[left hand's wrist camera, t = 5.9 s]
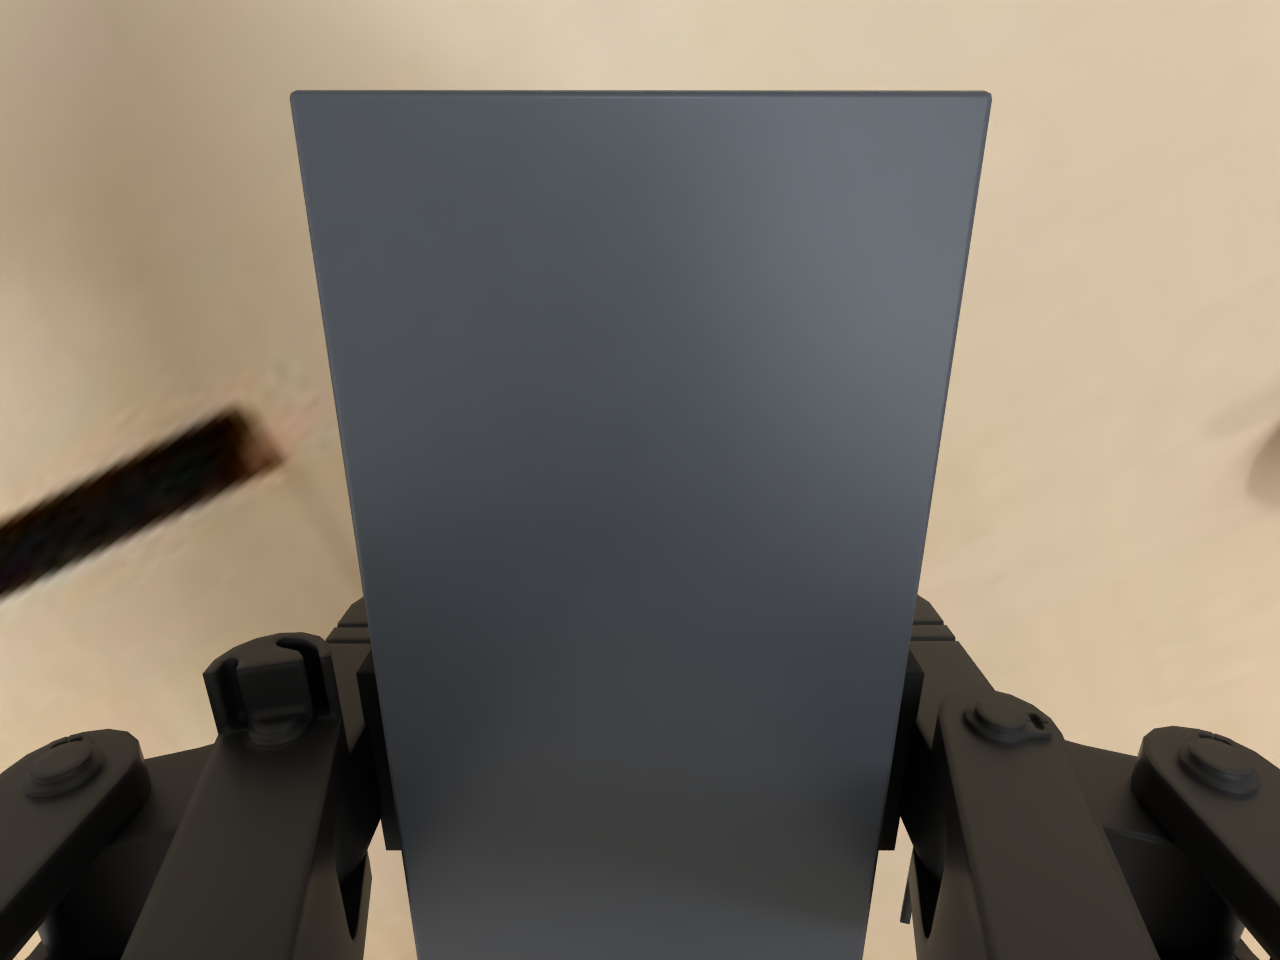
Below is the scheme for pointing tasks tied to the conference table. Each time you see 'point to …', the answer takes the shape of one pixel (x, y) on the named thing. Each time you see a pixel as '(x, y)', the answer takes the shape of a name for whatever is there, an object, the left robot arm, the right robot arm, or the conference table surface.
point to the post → (640, 492)
